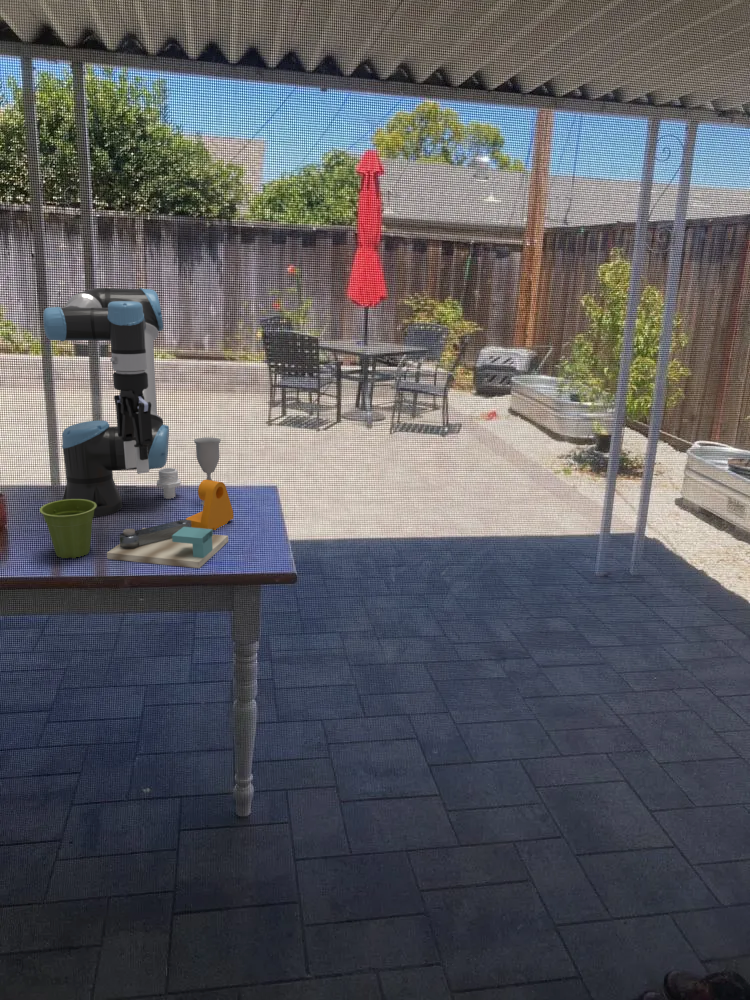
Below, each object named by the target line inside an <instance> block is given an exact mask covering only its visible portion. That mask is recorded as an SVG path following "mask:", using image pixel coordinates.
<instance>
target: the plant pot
mask: <svg viewBox="0 0 750 1000" xmlns="http://www.w3.org/2000/svg"><path fill="white" fill-rule="evenodd" d="M96 507H97V505H96V503H95V502H93V501H90V500H85V499H66V500H63V499H59V500H56V501H55V500H54V501H52V502H48V503H46V504H43V505H42V506H41V507H40V508H39V513H40V514H42V516H43V519H44V521H45V523H46V525H47V529H48V531H49V532H48V533H49V535H50V539H51V542H52V545H53V549H54V552H55V555H56V557H58V558H60V557H61V558H60V559H64V558H67V559H68V558H72V559H77V558H76V557H79V558H81V557H80V556H82V557H85V556H86V555H88V554H89V553H90V550H91V542H92V529H93V521H94V520H93V519H94V518H95V517H94V509H95V508H96ZM84 555H85V556H84Z"/></svg>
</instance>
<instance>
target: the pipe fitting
mask: <svg viewBox="0 0 750 1000" xmlns="http://www.w3.org/2000/svg"><path fill="white" fill-rule="evenodd" d="M181 483H182V480H181V478H179V470H178V469H177V468H175V467H174V468H173V467H163V468H159V470H158V479H156V487H158V488H162V489H163V499H165V498H166V500H172V499H171V498H173V499H175V498H176V487H180V486H181V485H182V484H181ZM174 497H175V498H174Z"/></svg>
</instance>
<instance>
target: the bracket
mask: <svg viewBox="0 0 750 1000" xmlns="http://www.w3.org/2000/svg"><path fill="white" fill-rule="evenodd" d="M197 496H198V499H200V500H201V501H202V500H203V501H204V505H202V506H203V508H202V511H200V512H198V513H195V514H192V515H190V516H189V517H186V518H185V520H190V521H191V526H192V527H193V528H203V529H213V530H215V531H216V529H217V528H219V527H221V526H223V525H225V524H227V523H228V522H229V521H231V520H234V518H235V517H234V510H233V506H232V503H231V500H230V497H229V492H228V489H227V487H226V484H225V483H224V482H222V481H217V480H213V479H212V480H206V479H203V480H201V481H200V483H199V485H198V489H197ZM227 525H228V524H227ZM225 526H226V525H225ZM223 527H224V526H223ZM221 528H222V527H221ZM219 529H220V528H219ZM217 530H218V529H217Z"/></svg>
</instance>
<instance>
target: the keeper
mask: <svg viewBox="0 0 750 1000" xmlns="http://www.w3.org/2000/svg"><path fill="white" fill-rule="evenodd" d="M213 534H214V532H213V529H203V528H193V527H183V528H181V529H180V530H179V531H177V532H176V533H175V534H173V535H172V542H179V543H190V544H193V557H201V558H204V557H205V556H206V555H207V554H209V553H210V552H211V551H212V550H213V548H212V536H213Z"/></svg>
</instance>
